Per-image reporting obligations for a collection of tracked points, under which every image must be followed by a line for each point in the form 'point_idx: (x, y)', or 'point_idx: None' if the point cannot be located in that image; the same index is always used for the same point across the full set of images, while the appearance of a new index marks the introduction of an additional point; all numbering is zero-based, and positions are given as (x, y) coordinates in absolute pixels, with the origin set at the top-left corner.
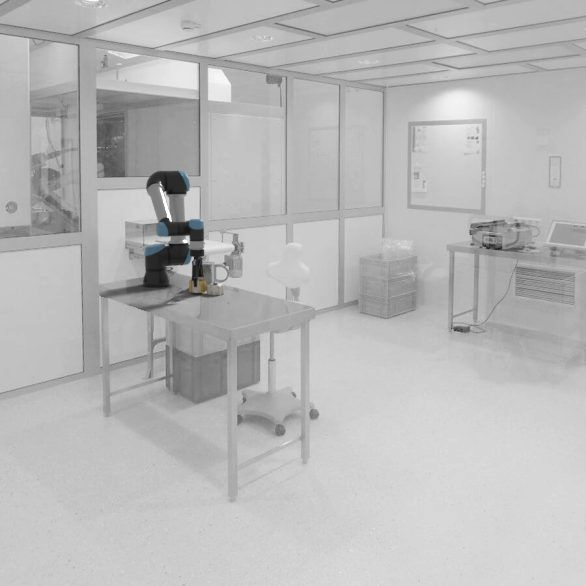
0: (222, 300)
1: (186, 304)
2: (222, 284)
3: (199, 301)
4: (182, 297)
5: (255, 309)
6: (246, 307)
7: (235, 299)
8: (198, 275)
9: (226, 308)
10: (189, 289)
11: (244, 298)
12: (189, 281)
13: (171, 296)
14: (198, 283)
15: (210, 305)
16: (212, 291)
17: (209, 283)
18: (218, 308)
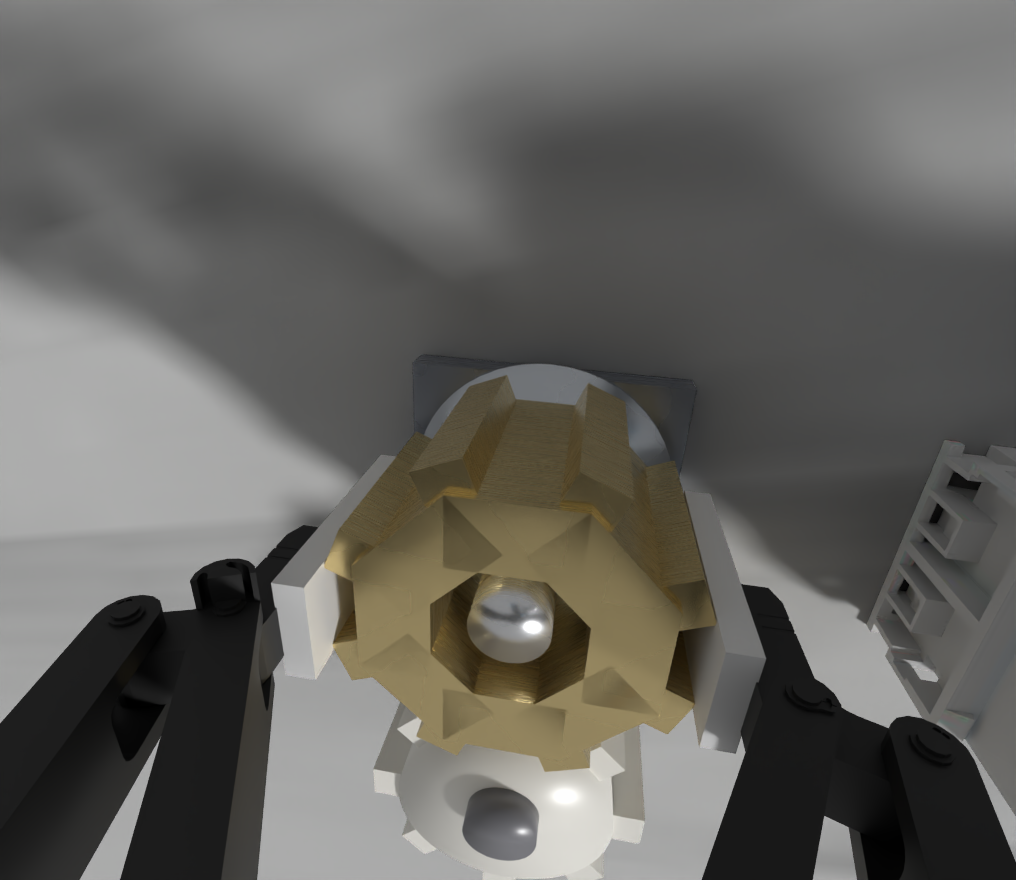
0: (316, 718)
1: (13, 390)
2: (567, 875)
3: (209, 516)
4: (399, 256)
5: (87, 875)
6: (120, 841)
7: (383, 809)
8: (772, 719)
9: None
10: (481, 391)
11: (437, 868)
12: (413, 469)
13: (457, 12)
14: (346, 630)
15: (76, 624)
16: None
17: (944, 701)
18: (3, 681)
